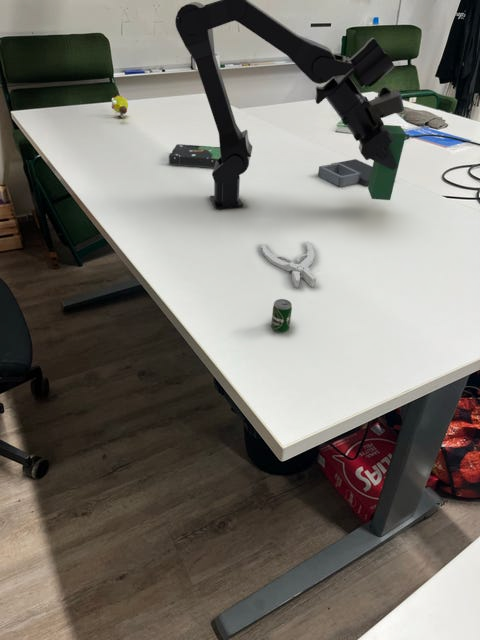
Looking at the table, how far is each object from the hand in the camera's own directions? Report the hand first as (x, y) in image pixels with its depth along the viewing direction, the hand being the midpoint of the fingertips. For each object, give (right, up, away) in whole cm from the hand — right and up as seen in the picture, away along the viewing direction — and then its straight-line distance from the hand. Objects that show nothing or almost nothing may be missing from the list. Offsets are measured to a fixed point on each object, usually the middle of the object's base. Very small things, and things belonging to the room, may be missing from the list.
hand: (392, 163), depth 102 cm
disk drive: (-44, +10, +30) cm, 54 cm away
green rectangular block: (-2, -6, +4) cm, 7 cm away
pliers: (-23, -24, -13) cm, 35 cm away
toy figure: (-74, +36, +63) cm, 103 cm away
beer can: (-26, -35, -28) cm, 52 cm away
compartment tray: (-3, +5, +25) cm, 26 cm away
